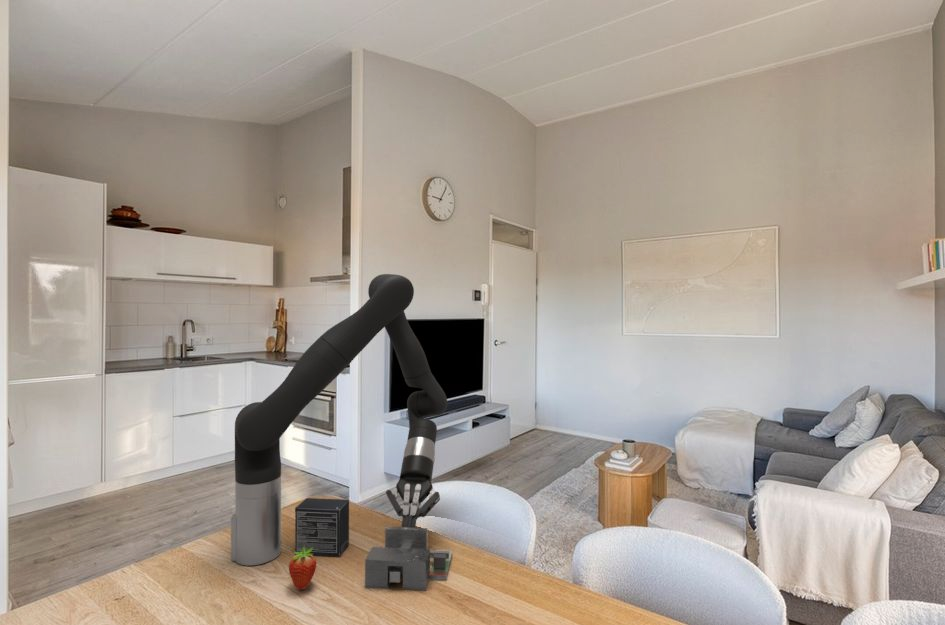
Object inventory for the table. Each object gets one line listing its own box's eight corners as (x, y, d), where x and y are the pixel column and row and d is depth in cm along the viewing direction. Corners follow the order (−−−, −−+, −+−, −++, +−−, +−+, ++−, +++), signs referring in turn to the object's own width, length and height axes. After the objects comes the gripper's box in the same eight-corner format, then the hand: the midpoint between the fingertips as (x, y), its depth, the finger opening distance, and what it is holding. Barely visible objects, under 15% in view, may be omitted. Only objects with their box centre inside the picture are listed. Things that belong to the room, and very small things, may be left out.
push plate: (371, 587, 93) (372, 552, 93) (386, 558, 104) (386, 526, 104) (442, 591, 92) (442, 555, 92) (449, 561, 103) (449, 529, 103)
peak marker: (433, 568, 99) (433, 557, 99) (434, 564, 100) (434, 553, 100) (445, 568, 98) (445, 557, 98) (446, 565, 100) (446, 554, 100)
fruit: (283, 588, 93) (283, 547, 93) (307, 577, 97) (307, 538, 97) (297, 599, 90) (297, 557, 90) (322, 587, 94) (322, 546, 93)
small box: (350, 543, 111) (350, 498, 111) (340, 557, 105) (340, 510, 105) (306, 540, 112) (307, 496, 112) (293, 555, 106) (293, 507, 106)
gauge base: (365, 587, 94) (365, 559, 94) (383, 551, 107) (383, 527, 107) (443, 591, 92) (443, 563, 92) (452, 554, 106) (452, 530, 106)
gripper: (388, 452, 114) (373, 527, 102) (443, 454, 113) (435, 530, 101) (394, 467, 119) (380, 540, 107) (446, 468, 118) (439, 542, 106)
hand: (407, 535), depth 104 cm, fingers closed
